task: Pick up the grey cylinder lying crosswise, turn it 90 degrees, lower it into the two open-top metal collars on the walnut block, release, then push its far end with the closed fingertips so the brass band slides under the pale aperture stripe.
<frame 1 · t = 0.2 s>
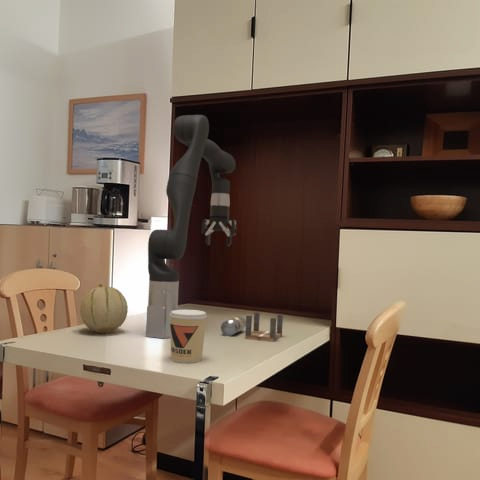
hand: (218, 245, 195), 29 cm above the table, fingers open, 8 cm apart
cantaloupe: (103, 332, 154), on the table
coffee cup: (186, 360, 124), on the table
grey cylinder: (233, 333, 162), on the table
collar block: (263, 337, 157), on the table
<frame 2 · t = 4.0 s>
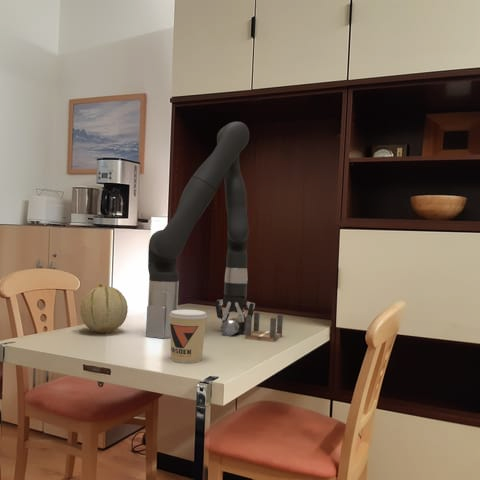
hand: (233, 332, 162), 0 cm above the table, fingers closed on grey cylinder, 5 cm apart
grey cylinder: (233, 333, 162), on the table, touching gripper
everything else where it was.
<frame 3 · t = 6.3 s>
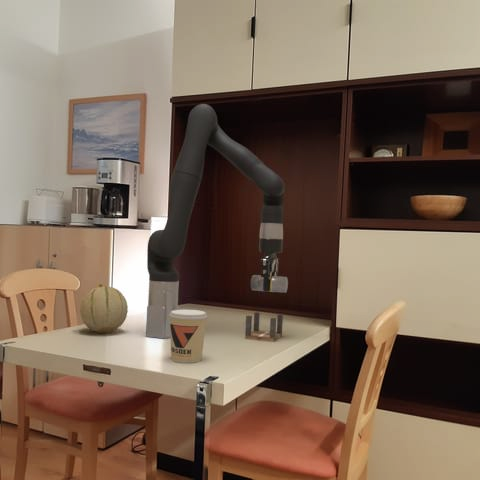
hand: (269, 290, 157), 15 cm above the table, fingers closed on grey cylinder, 5 cm apart
grey cylinder: (269, 291, 157), point 15 cm above the table, touching gripper
everything else where it was.
when the fingers open (3 cm above the table, at t = 9.0 s): grey cylinder drops 1 cm, resting on collar block.
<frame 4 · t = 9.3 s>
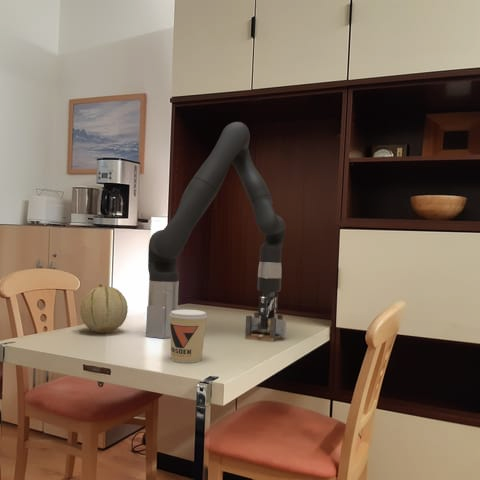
hand: (267, 327, 157), 3 cm above the table, fingers open, 7 cm apart
grey cylinder: (267, 334, 157), point 1 cm above the table, touching collar block
everything else where it was.
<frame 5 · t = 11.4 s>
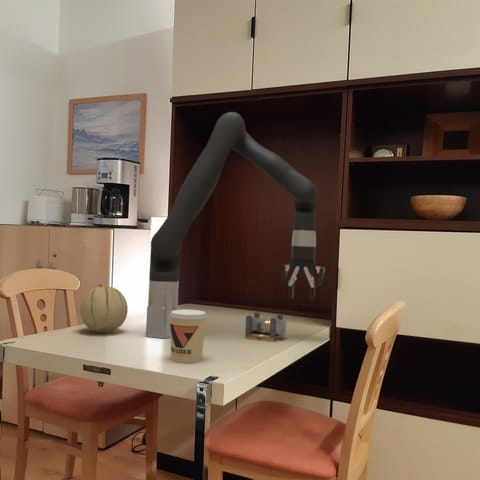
hand: (301, 298, 153), 14 cm above the table, fingers open, 5 cm apart
nothing on the table moved.
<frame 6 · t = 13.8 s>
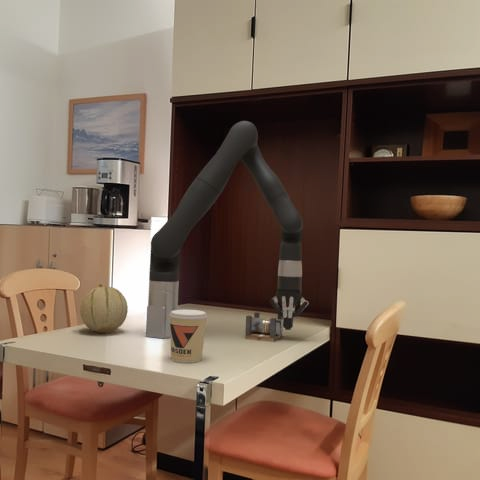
hand: (287, 329, 154), 3 cm above the table, fingers closed
grey cylinder: (264, 333, 157), point 1 cm above the table, touching gripper
everything else where it was.
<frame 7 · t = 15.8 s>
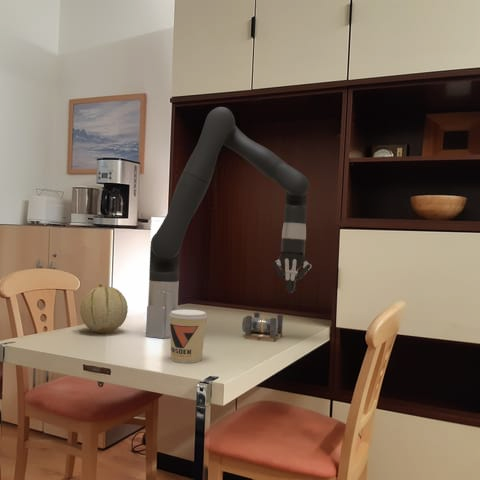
hand: (290, 292, 154), 15 cm above the table, fingers closed
grey cylinder: (260, 333, 158), point 1 cm above the table, touching collar block
everything else where it was.
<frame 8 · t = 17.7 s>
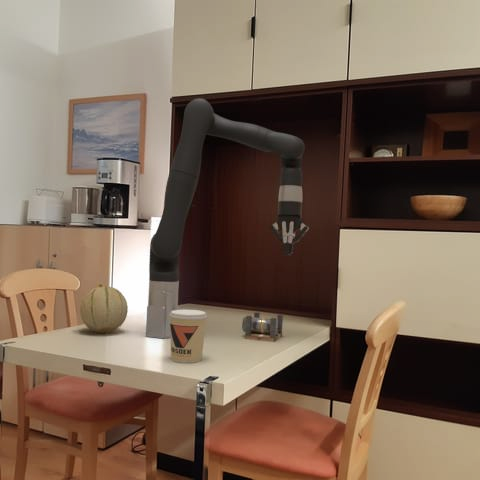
hand: (287, 255, 155), 27 cm above the table, fingers closed
nothing on the table moved.
at the end: grey cylinder 0.2 cm from the target spot on the collar block, point 1.3 cm above the collar block's base; the gripper is holding nothing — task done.
